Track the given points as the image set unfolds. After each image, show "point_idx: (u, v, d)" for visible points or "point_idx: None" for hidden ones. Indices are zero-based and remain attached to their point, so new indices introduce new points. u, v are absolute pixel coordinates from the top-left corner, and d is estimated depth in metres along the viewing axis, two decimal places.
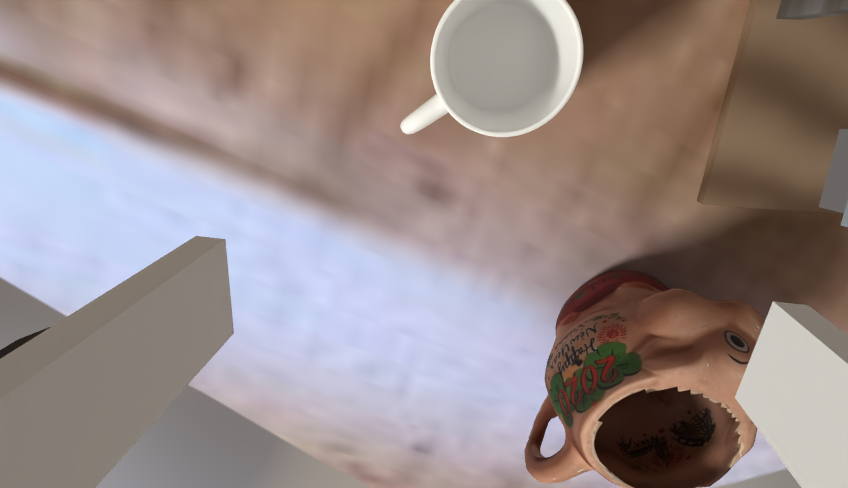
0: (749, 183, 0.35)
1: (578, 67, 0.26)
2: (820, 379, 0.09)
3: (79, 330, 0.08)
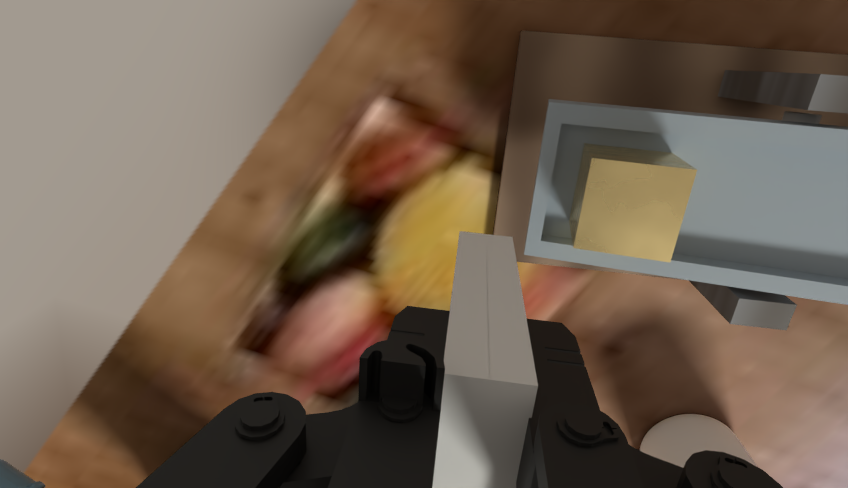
0: None
1: None
2: None
3: (475, 306, 0.09)
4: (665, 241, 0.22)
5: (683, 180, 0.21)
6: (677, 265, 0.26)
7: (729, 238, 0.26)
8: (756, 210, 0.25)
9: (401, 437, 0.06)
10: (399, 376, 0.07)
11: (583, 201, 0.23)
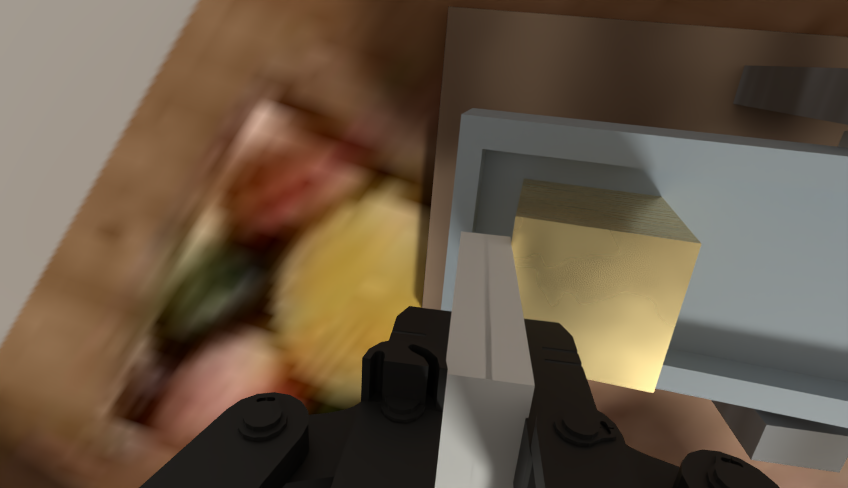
0: None
1: None
2: None
3: (477, 306, 0.09)
4: (645, 359, 0.13)
5: (676, 261, 0.12)
6: (668, 372, 0.16)
7: (752, 330, 0.16)
8: (797, 290, 0.16)
9: (404, 438, 0.06)
10: (402, 377, 0.07)
11: None
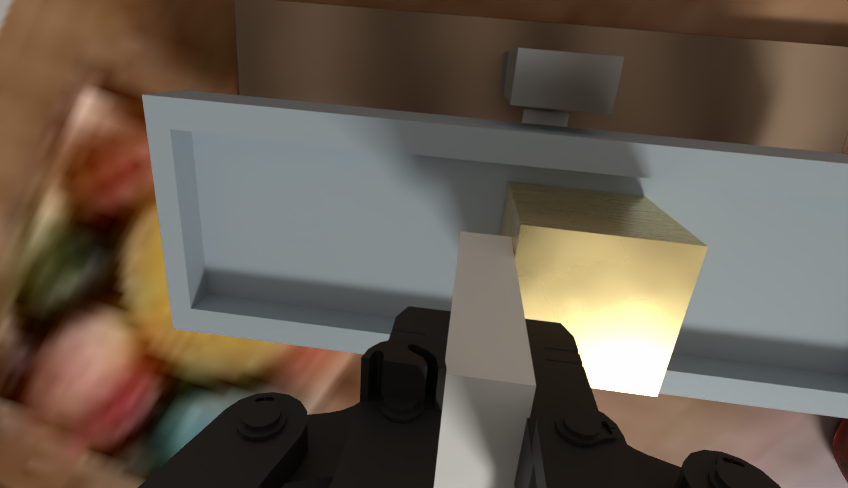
0: None
1: None
2: None
3: (476, 306, 0.09)
4: (649, 364, 0.13)
5: (682, 265, 0.12)
6: (385, 339, 0.17)
7: None
8: None
9: (402, 437, 0.06)
10: (400, 376, 0.07)
11: None
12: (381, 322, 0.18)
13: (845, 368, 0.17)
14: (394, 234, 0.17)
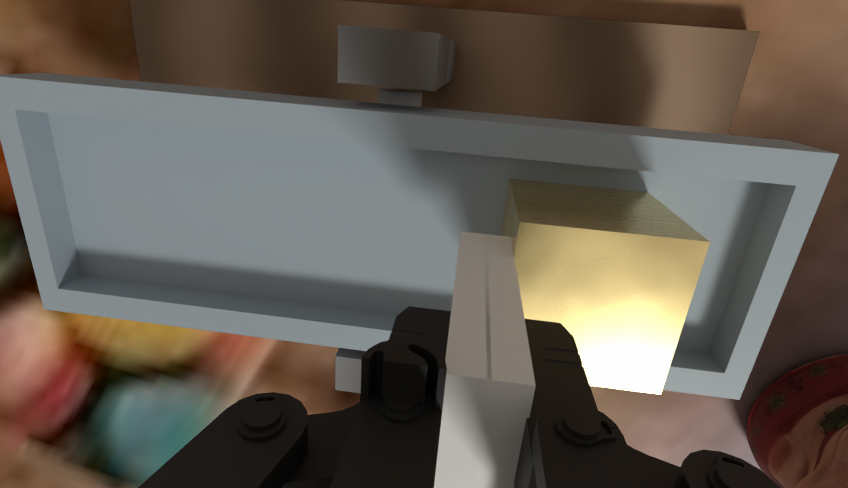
0: None
1: None
2: None
3: (476, 306, 0.09)
4: (652, 361, 0.13)
5: (684, 261, 0.11)
6: (245, 318, 0.17)
7: (322, 274, 0.18)
8: (344, 234, 0.17)
9: (403, 437, 0.06)
10: (401, 376, 0.07)
11: None
12: (246, 301, 0.18)
13: (699, 345, 0.17)
14: (252, 214, 0.17)
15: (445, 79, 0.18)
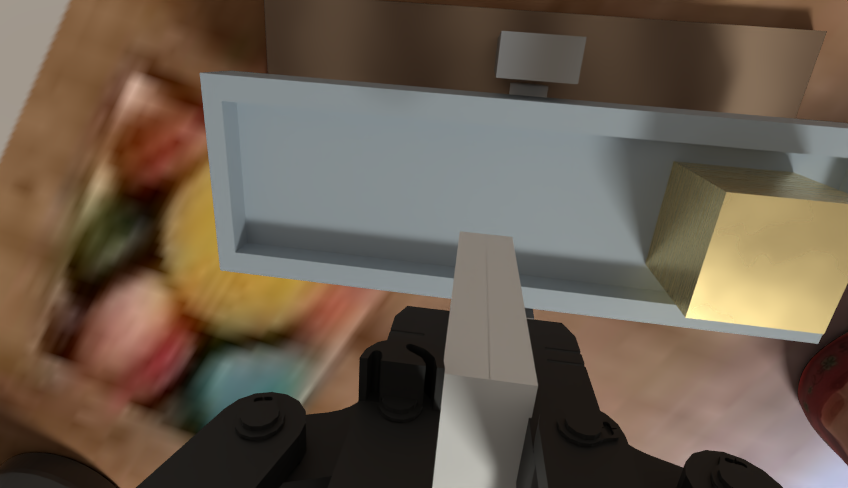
0: None
1: None
2: None
3: (475, 306, 0.09)
4: (821, 306, 0.16)
5: None
6: (395, 276, 0.21)
7: (458, 240, 0.21)
8: (481, 205, 0.20)
9: (401, 437, 0.06)
10: (399, 376, 0.07)
11: (706, 253, 0.15)
12: (392, 263, 0.21)
13: None
14: (403, 188, 0.21)
15: None
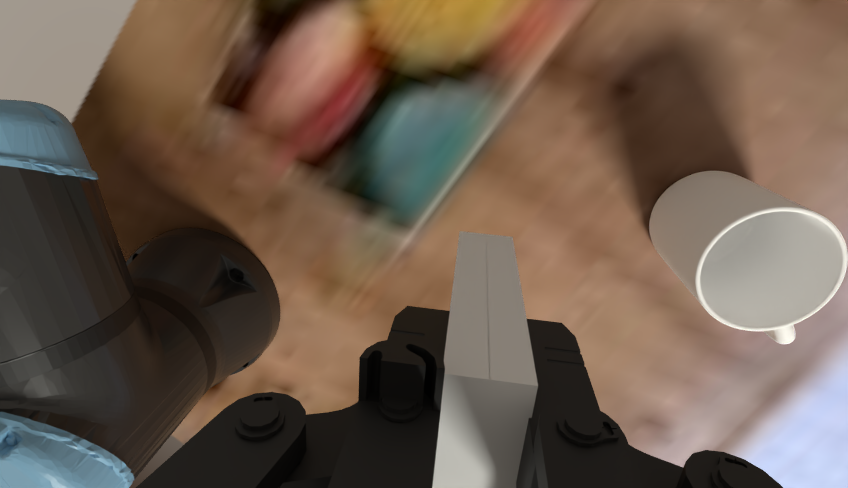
0: None
1: (798, 210, 0.27)
2: None
3: (475, 306, 0.09)
4: None
5: None
6: None
7: None
8: None
9: (401, 437, 0.06)
10: (399, 376, 0.07)
11: None
12: None
13: None
14: None
15: None
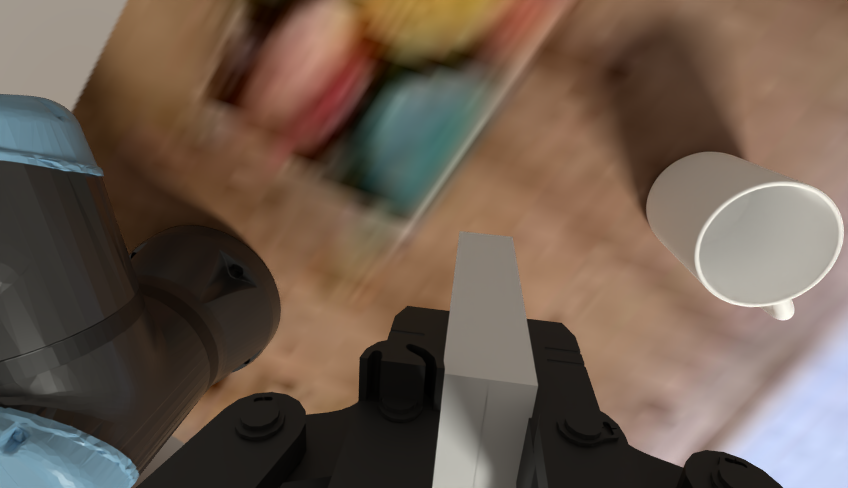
0: None
1: (793, 184, 0.27)
2: None
3: (475, 306, 0.09)
4: None
5: None
6: None
7: None
8: None
9: (401, 437, 0.06)
10: (399, 376, 0.07)
11: None
12: None
13: None
14: None
15: None
